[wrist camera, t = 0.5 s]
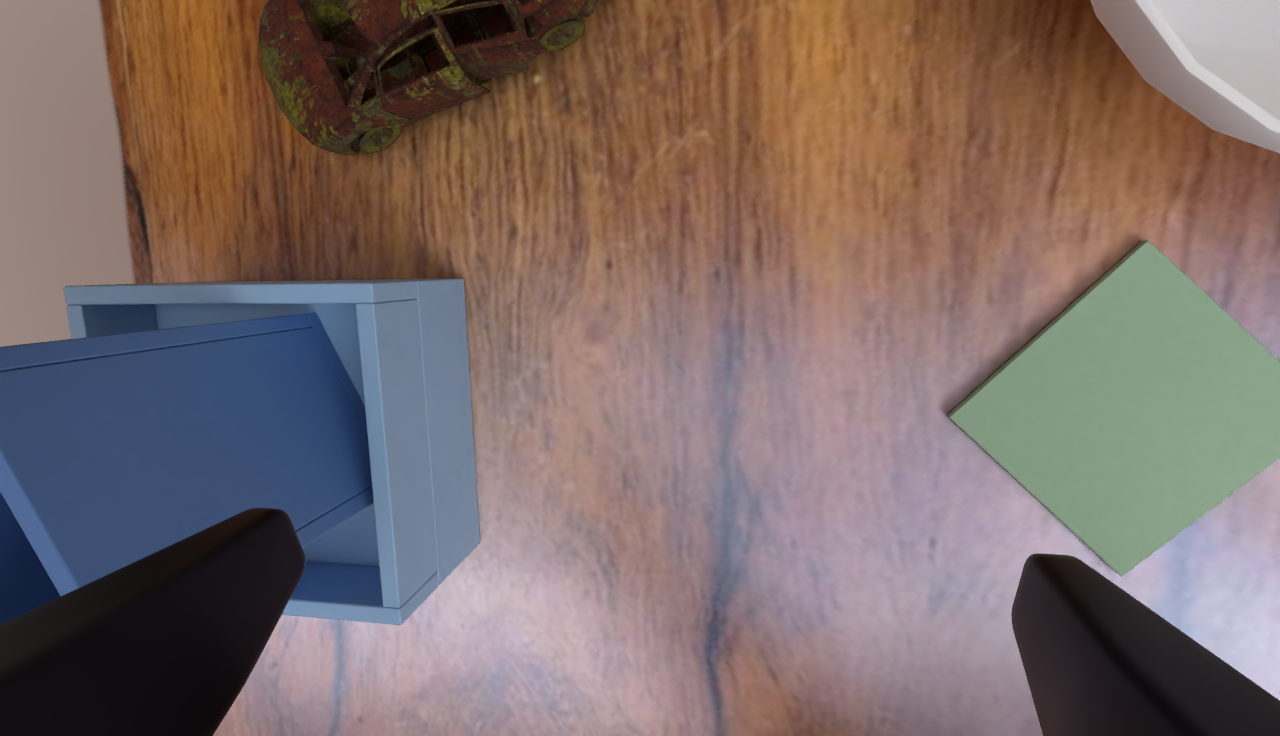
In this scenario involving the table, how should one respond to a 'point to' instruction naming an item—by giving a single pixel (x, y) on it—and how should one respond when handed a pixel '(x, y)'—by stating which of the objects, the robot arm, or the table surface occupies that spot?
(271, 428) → the upper bin
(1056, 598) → the robot arm
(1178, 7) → the bowl
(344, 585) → the lower bin
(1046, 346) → the mat
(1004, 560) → the table surface
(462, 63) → the toy car
